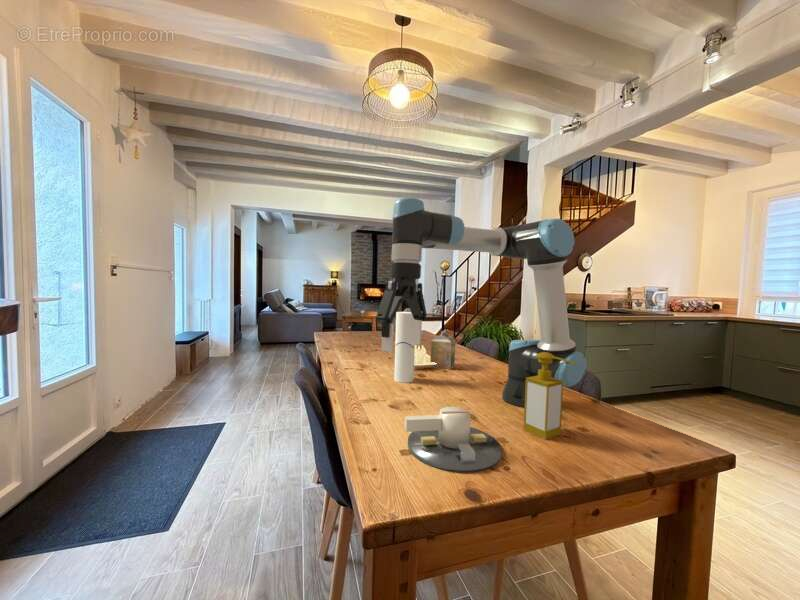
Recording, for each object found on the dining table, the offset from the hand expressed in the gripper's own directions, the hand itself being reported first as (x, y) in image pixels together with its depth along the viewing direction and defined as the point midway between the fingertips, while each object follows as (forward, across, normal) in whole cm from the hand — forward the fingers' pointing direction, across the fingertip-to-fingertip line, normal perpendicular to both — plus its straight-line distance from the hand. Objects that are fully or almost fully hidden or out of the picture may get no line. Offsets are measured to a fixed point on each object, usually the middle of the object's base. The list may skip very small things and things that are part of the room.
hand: (402, 347), depth 82 cm
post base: (+26, -10, +11) cm, 30 cm away
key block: (+24, -8, +9) cm, 27 cm away
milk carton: (+25, -88, -28) cm, 95 cm away
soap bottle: (+26, -32, +31) cm, 52 cm away
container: (+26, -54, -31) cm, 67 cm away
